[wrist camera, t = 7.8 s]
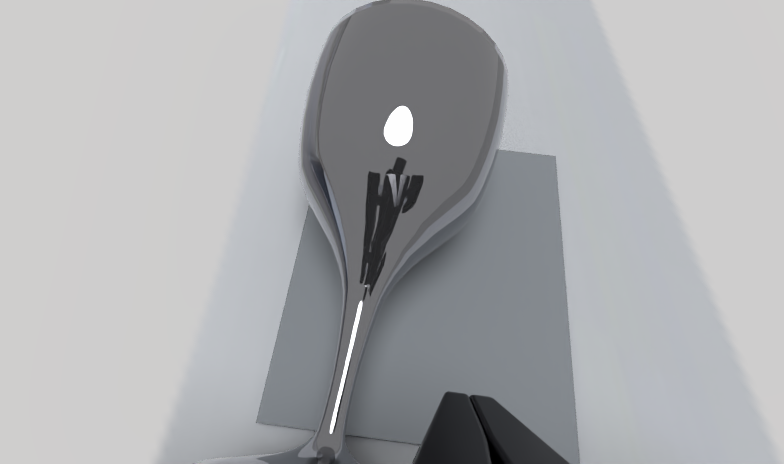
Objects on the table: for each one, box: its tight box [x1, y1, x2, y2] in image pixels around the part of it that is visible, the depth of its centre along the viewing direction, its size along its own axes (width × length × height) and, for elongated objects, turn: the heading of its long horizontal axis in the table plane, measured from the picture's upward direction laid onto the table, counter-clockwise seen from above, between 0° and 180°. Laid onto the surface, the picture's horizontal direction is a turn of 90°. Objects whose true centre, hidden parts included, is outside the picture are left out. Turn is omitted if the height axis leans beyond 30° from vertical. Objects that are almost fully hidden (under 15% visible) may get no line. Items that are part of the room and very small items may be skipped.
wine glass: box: [194, 0, 509, 464], centre depth 14 cm, size 8×8×15 cm
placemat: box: [256, 150, 580, 464], centre depth 18 cm, size 14×12×1 cm
